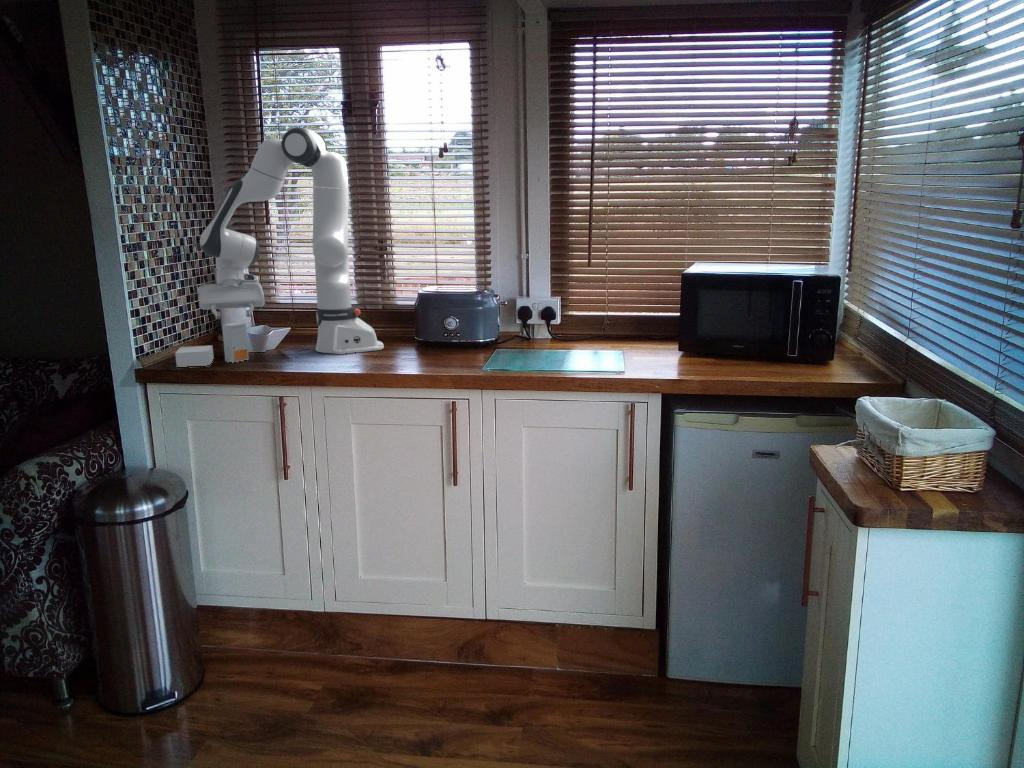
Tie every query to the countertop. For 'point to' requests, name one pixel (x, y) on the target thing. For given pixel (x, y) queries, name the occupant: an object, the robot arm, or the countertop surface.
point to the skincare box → (235, 342)
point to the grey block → (194, 356)
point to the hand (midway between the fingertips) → (233, 317)
